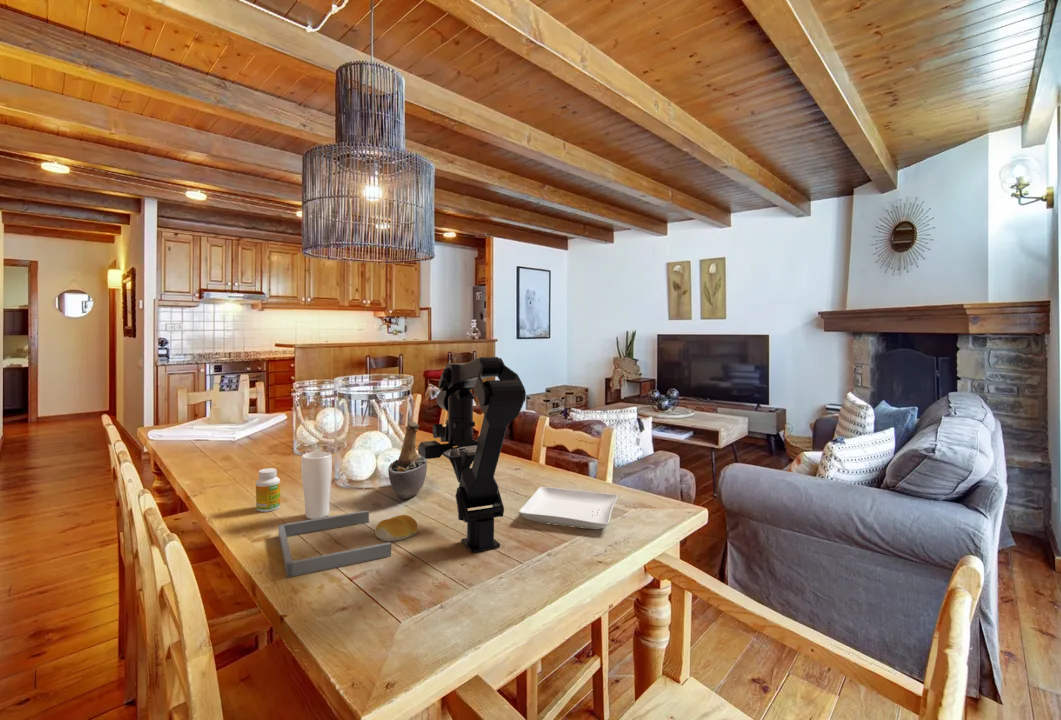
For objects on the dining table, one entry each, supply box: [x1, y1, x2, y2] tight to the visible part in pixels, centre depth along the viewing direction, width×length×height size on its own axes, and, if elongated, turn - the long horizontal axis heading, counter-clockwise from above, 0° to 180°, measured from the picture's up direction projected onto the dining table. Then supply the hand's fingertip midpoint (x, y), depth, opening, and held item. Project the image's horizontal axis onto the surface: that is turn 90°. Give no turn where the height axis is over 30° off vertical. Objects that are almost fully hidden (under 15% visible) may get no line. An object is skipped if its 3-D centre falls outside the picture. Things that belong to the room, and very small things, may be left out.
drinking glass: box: [300, 451, 333, 520], centre depth 125 cm, size 7×7×15 cm
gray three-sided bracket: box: [278, 509, 392, 578], centre depth 109 cm, size 21×19×2 cm
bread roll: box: [374, 514, 419, 542], centre depth 116 cm, size 8×9×4 cm
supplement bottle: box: [255, 467, 281, 513], centre depth 129 cm, size 5×5×10 cm
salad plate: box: [518, 486, 618, 530], centre depth 129 cm, size 21×21×3 cm
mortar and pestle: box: [387, 421, 428, 500], centre depth 141 cm, size 15×17×20 cm
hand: (460, 482), depth 122 cm, fingers closed
